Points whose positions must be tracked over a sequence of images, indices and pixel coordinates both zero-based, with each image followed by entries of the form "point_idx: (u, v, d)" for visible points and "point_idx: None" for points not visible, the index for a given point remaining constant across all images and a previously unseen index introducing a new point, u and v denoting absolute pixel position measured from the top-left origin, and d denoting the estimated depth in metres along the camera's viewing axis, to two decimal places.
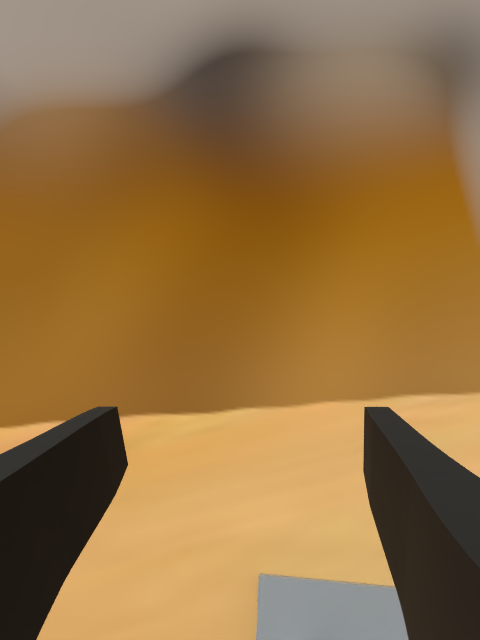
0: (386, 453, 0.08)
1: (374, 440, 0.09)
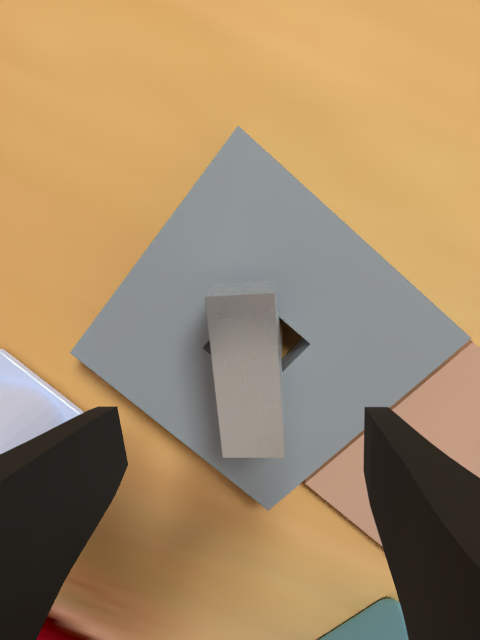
0: (386, 453, 0.08)
1: (374, 440, 0.09)
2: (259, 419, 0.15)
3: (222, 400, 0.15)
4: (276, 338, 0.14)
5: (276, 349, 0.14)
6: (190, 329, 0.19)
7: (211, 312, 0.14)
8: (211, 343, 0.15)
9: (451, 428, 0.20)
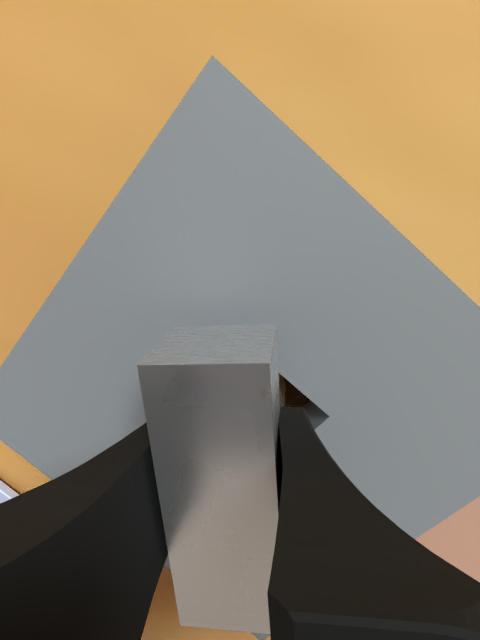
0: None
1: None
2: (242, 574, 0.09)
3: (176, 540, 0.09)
4: (272, 443, 0.08)
5: (272, 464, 0.08)
6: None
7: (150, 393, 0.08)
8: (153, 447, 0.08)
9: None
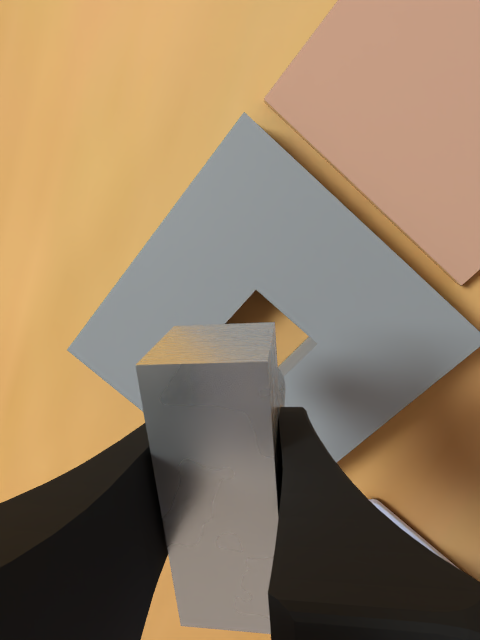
0: (281, 451, 0.08)
1: None
2: (242, 573, 0.09)
3: (176, 540, 0.09)
4: (272, 442, 0.08)
5: (271, 463, 0.08)
6: None
7: (149, 393, 0.08)
8: (152, 446, 0.08)
9: (383, 103, 0.16)
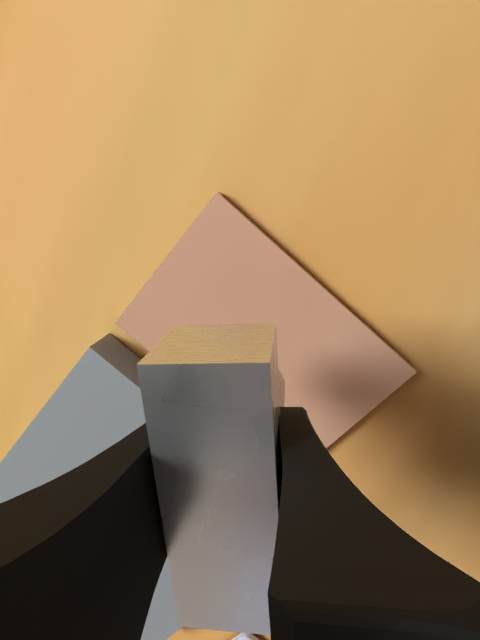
0: (281, 451, 0.08)
1: None
2: (242, 575, 0.09)
3: (175, 540, 0.09)
4: (273, 443, 0.08)
5: (272, 464, 0.08)
6: None
7: (150, 393, 0.08)
8: (152, 446, 0.08)
9: None
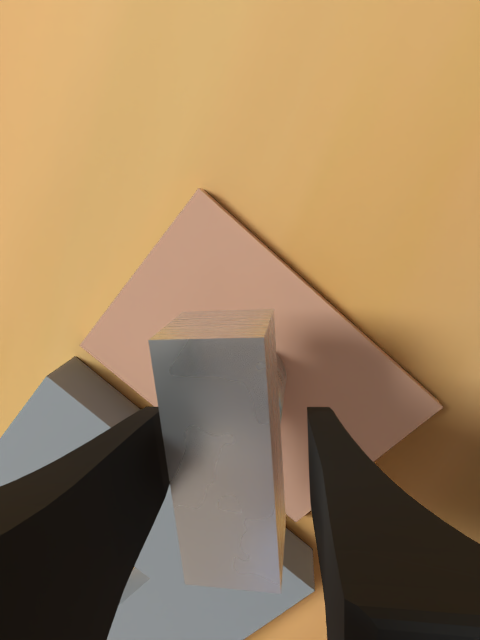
0: (314, 452, 0.08)
1: (309, 439, 0.09)
2: (241, 534, 0.10)
3: (181, 502, 0.10)
4: (267, 411, 0.09)
5: (267, 429, 0.09)
6: None
7: (160, 365, 0.09)
8: (161, 414, 0.09)
9: None
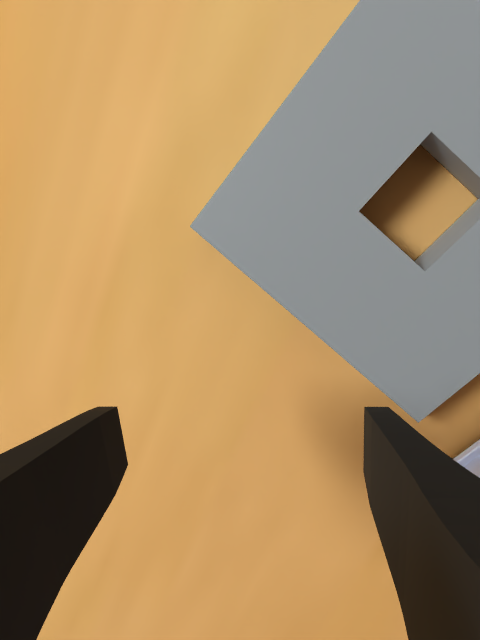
0: (386, 453, 0.08)
1: (374, 440, 0.09)
2: None
3: None
4: None
5: None
6: (399, 284, 0.16)
7: None
8: None
9: None
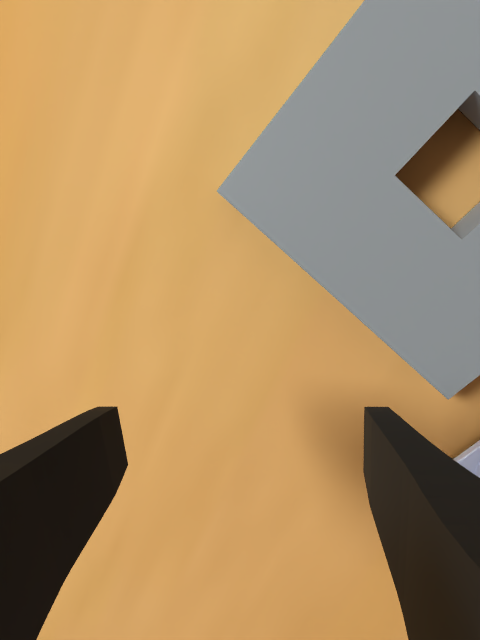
0: (386, 453, 0.08)
1: (374, 440, 0.09)
2: None
3: None
4: None
5: None
6: (434, 253, 0.16)
7: None
8: None
9: None
